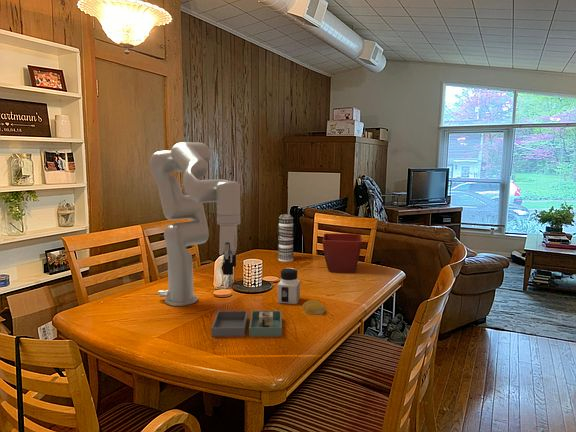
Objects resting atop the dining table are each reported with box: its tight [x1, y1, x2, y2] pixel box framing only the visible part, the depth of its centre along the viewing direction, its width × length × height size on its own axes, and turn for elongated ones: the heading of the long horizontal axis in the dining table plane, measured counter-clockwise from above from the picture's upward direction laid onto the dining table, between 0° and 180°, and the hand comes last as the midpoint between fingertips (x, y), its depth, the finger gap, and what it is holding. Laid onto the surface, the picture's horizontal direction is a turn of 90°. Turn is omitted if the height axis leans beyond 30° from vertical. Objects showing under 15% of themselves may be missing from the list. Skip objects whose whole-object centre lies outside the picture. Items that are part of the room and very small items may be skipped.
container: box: [277, 267, 301, 305], centre depth 175 cm, size 8×8×13 cm
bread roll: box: [301, 299, 326, 315], centre depth 164 cm, size 8×9×4 cm
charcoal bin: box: [210, 310, 249, 338], centre depth 147 cm, size 10×15×4 cm
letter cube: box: [259, 312, 273, 327], centre depth 147 cm, size 4×5×5 cm
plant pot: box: [321, 232, 363, 274], centre depth 221 cm, size 19×19×17 cm
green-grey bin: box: [248, 310, 283, 338], centre depth 147 cm, size 10×15×4 cm
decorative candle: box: [277, 213, 295, 263], centre depth 239 cm, size 9×9×25 cm
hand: (229, 270), depth 144 cm, fingers open, 9 cm apart
